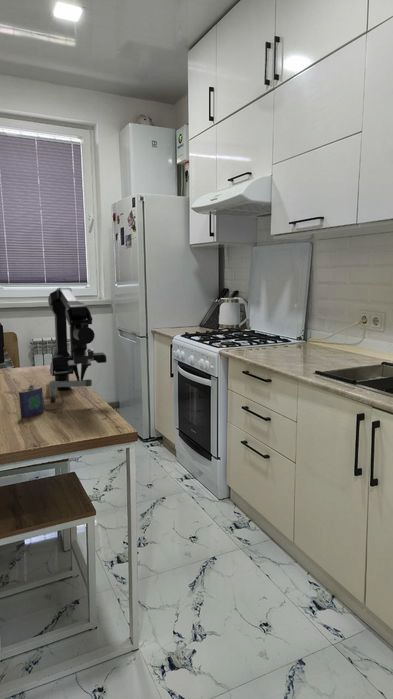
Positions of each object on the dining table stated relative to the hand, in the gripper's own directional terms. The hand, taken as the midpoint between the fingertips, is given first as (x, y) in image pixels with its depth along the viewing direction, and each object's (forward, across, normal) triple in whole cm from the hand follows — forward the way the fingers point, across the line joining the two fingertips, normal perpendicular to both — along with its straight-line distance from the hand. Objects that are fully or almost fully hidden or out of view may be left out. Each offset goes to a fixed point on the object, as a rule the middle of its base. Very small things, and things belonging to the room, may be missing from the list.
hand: (80, 382), depth 165 cm
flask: (+8, -17, -7) cm, 20 cm away
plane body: (+9, -10, +7) cm, 15 cm away
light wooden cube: (+7, -10, +10) cm, 15 cm away
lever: (+6, -3, -1) cm, 7 cm away
